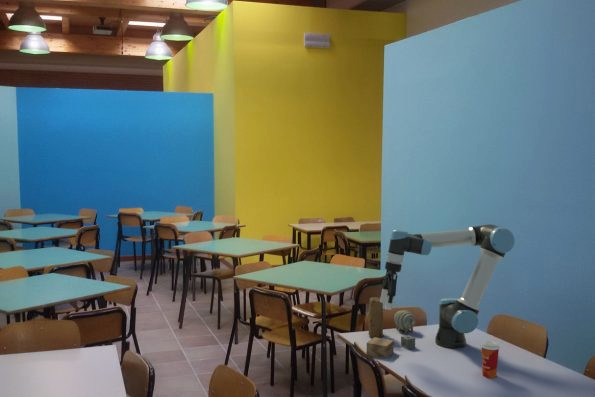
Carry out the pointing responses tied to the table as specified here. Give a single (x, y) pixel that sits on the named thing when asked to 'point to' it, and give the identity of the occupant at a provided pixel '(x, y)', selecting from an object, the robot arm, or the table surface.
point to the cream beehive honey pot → (404, 320)
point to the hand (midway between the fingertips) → (385, 306)
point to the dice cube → (408, 342)
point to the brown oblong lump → (375, 317)
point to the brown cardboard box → (380, 347)
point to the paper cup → (489, 359)
